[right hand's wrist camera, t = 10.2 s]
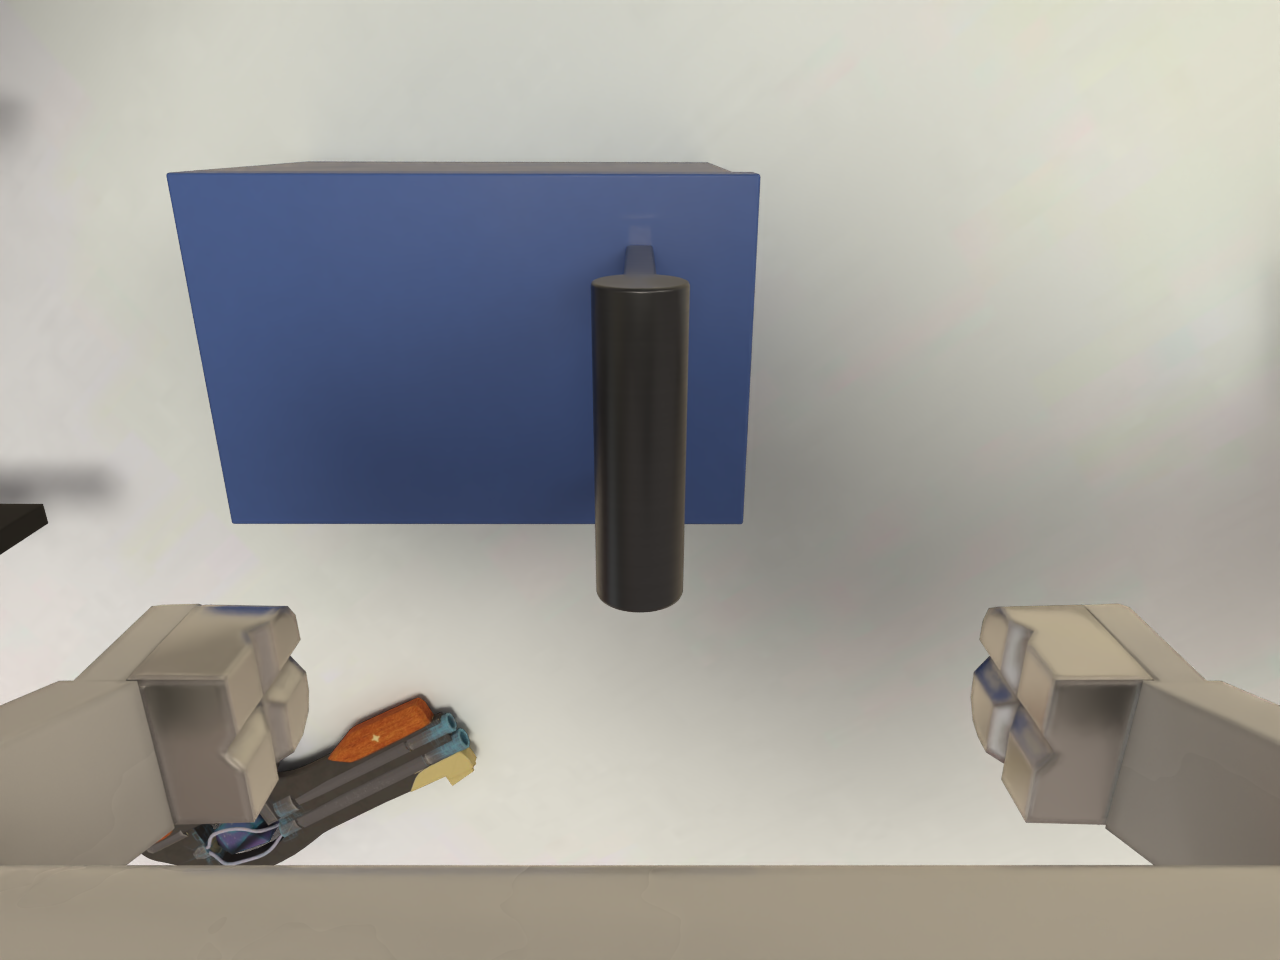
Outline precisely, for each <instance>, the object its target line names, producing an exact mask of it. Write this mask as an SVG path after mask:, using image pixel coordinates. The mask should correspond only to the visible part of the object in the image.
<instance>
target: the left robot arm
mask: <svg viewBox="0 0 1280 960" xmlns="http://www.w3.org/2000/svg"><path fill="white" fill-rule="evenodd" d="M46 524H48V521H47V517H46V513H45V510H44V506H43V504H0V554H2V553H4V552H5V551H7V550H8V549H10V548H11V547H13V546H14V545H16V544H17V543H19V542H20V541H22V540H23V539H25V538H26V537H28V536H29V535H31V534H32V533H34V532H36V531H37V530H39V529H40V528H42V527H43V526H45V525H46Z"/></svg>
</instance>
